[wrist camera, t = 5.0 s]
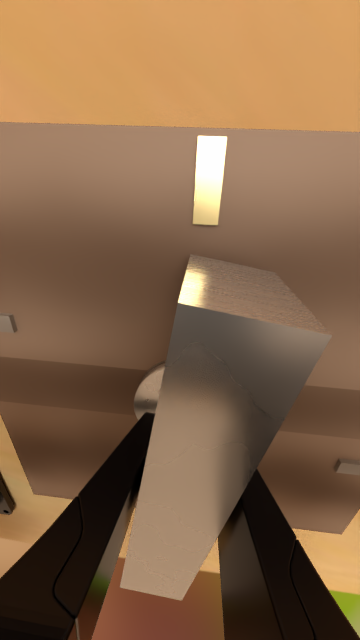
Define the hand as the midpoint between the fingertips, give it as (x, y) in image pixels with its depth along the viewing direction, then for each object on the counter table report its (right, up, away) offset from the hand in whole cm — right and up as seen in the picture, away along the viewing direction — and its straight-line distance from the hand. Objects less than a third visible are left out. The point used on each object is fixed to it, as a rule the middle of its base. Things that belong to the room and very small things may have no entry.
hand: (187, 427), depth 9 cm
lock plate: (0, +2, +4) cm, 4 cm away
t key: (0, +2, +3) cm, 3 cm away
